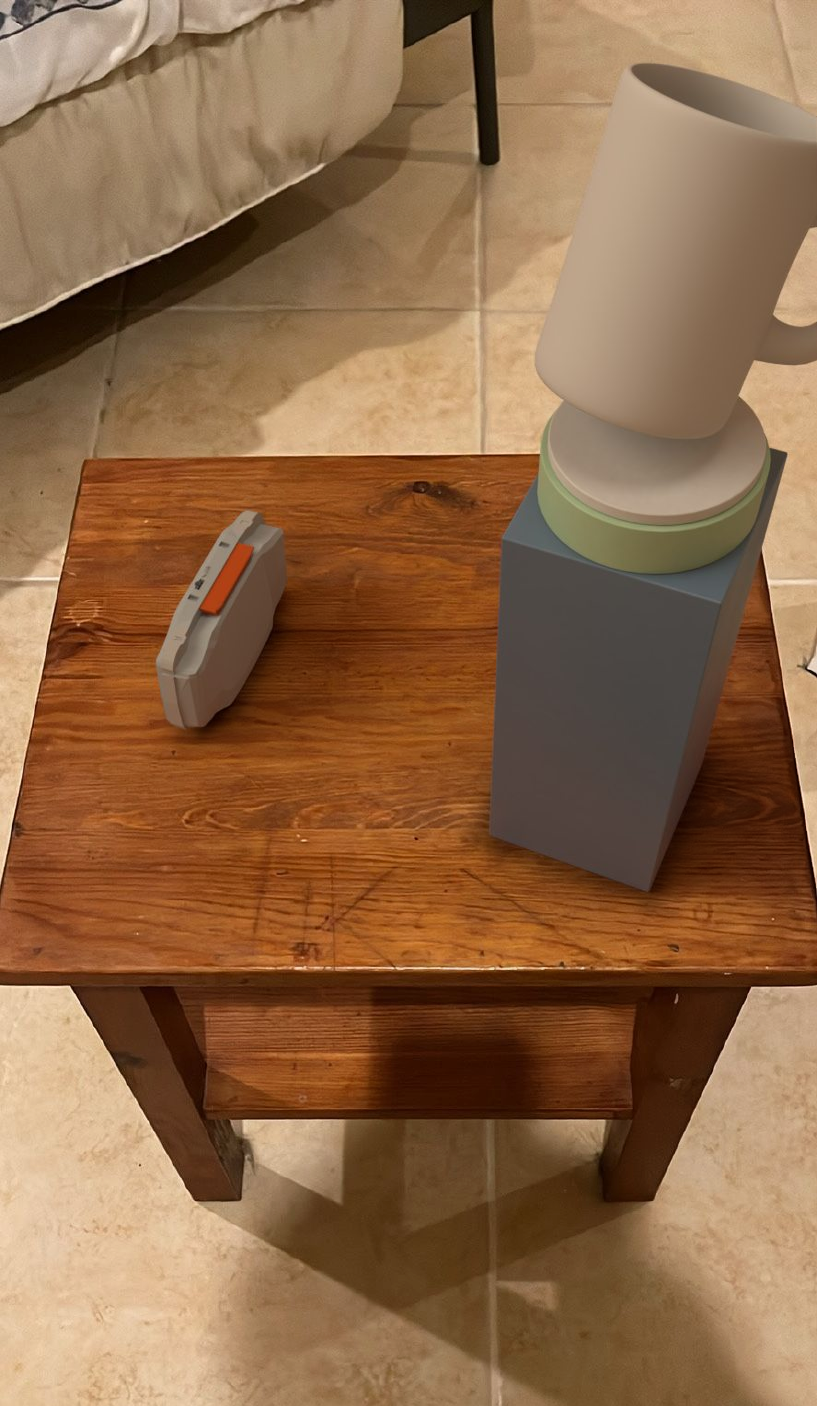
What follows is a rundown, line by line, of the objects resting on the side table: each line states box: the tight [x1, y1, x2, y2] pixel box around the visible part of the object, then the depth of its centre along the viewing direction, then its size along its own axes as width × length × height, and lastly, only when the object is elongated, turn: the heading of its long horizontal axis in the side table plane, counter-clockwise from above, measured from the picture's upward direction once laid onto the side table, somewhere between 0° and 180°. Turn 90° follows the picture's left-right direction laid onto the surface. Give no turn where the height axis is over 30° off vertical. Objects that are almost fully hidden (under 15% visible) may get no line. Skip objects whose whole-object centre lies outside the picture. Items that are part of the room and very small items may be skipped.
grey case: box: [155, 509, 288, 731], centre depth 82 cm, size 14×3×8 cm, turn 160°
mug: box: [534, 61, 817, 439], centre depth 51 cm, size 12×8×11 cm
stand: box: [488, 447, 788, 893], centre depth 68 cm, size 10×10×24 cm
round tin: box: [537, 395, 771, 574], centre depth 57 cm, size 10×10×3 cm
